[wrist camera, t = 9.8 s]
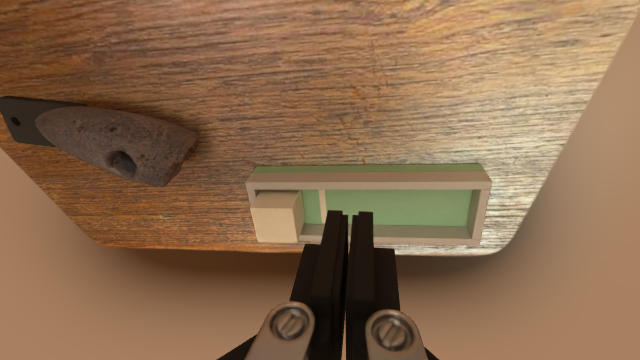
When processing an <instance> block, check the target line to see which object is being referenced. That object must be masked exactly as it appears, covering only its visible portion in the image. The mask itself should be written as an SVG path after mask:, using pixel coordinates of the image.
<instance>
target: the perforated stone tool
mask: <svg viewBox="0 0 640 360" xmlns="http://www.w3.org/2000/svg"><path fill="white" fill-rule="evenodd" d="M35 122H36V123H35V124H36V127H37V128H38V130H39V131H40V133H41V134H42V135H43V136H44V137H45V138H46V139H47V140H48V141H50V142H51V143H52V144H54V145H55V146H56V147H59V148H60V149H62V150H63V151H65V152H66V153H68V154H70V155H72V156H74V157H77V158H78V159H80V160H83V161H85V162H87V163H89V164H91V165H94V166H96V167H98V168H100V169H103V170H105V171H108V172H110V173H112V174H115V175H117V176H120V177H122V178H126V179H129V180H134V181H138V182H142V183H146V184H150V185H154V186H162V187H164V186H166V185H167V184H168V183H169V182H170V181H171V179H172V178H173V177H174V176H176V175H177V174H178V173H179V172H180V170H181V166H182V163H183V162H184V161H185V160H187V159H188V158H189V156H190V154H191V152H193V151H194V149H195V145H196V143H198V141H199V137H198V136H199V134H198V133H197V132H194V131H192V130H190V129H187V128H184V127H182V126H179V125H177V124H174V123H171V122H168V121H165V120H162V119H158V118H154V117H150V116H145V115H141V114H136V113H131V112H125V111H119V110H112V109H106V108H98V107H87V106H70V107H62V108H56V109H52V110H50V111H47V112H45V113H43V114H42V115H39V116H38V117H37V119H36V120H35Z"/></svg>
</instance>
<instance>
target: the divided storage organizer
mask: <svg viewBox="0 0 640 360" xmlns="http://www.w3.org/2000/svg"><path fill="white" fill-rule="evenodd" d="M245 184H246V189H247V193H248V197H249V202H250V206H252V204H253V202H254V201H255V199H256V197H257V196H258V194H259V192H260V191H261V190H301V191H302V199H303V207H304V214H305V220H304V224H303V227H302V230H301V233H300V237H299V240H298V241H320V242H321V240H322V235H323V231H324V226H325V221H326V216H327V212H328V210H341V211H343V214H344V215H348V242H350V239H351V227H352V216H353V215H358V212H359V211H366V212H373V239H374V243H393V244H430V245H466V246H479V245H480V239H481V234H482V229H483V224H484V220H485V215H486V210H487V205H488V200H489V195H490V189H491V186H492V181H491V179H490V178H489V176H488V175H487V173H486V172H485V170H484V169H483V167H482V166H481V164H412V165H331V166H257V167H256V168H255V169H254V171H253V172H252V174H251V175H250V176H249V178H248V179H247V181H246V182H245Z"/></svg>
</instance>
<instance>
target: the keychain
mask: <svg viewBox="0 0 640 360" xmlns="http://www.w3.org/2000/svg"><path fill="white" fill-rule="evenodd" d="M70 106H87V105H85V104H79V103H69V102H59V101H48V100H38V99H28V98H18V97H8V96H4V97H0V111H1V113H2V115H3V118H4V120H5V122H6V124H7V126H8V128H9V131H10V133H11V135H12V137H13V139H14V140H15V141H16V142H18V143H25V144H34V145H43V146H51V147H56V146H55V145H54V144H52V143H51V142H50V141H48V140H47V139H46V138H45V137H44V136H43V135H42V134H41V133H40V131H39V130H38V128H37V127H36V124H35V123H36V122H35V120H36V119H37V117H38V116H39V115H42V114H43V113H45V112H47V111H50V110H52V109H56V108H62V107H70ZM87 107H88V106H87ZM19 121H20V122H19Z"/></svg>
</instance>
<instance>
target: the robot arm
mask: <svg viewBox="0 0 640 360" xmlns="http://www.w3.org/2000/svg"><path fill="white" fill-rule="evenodd" d="M345 309H346V360H439V359H438V358H436V357H435V356H434V355H433V354H432V353H431V352H430V351H429V350H427V349H426V348H425V347H424V345H423V342H422V339H421V336H420V333H419V330H418V328H417V326H416V324H415V323H414V321H413V320H412V319H411V318H410V317H409V316H407V315H406V314H404V313H403V312H400V303H399V293H398V282H397V272H396V261H395V251H394V249H389V248H374V239H373V212H366V211H359V212H358V215H353V216H352V227H351V239H350V250H349V262H348V215H344V214H343V211H341V210H328V212H327V216H326V221H325V226H324V231H323V235H322V240H321V245H318V244H305V246H304V249H303V253H302V257H301V260H300V264H299V268H298V271H297V275H296V279H295V282H294V286H293V290H292V293H291V297H290V301H289V302H283V303H281V304H279V305H277V306H276V307H274V308H273V309H272V310H271V311H270V312H269V314H268V315H267V316H266V319H265V320H264V322H263V324H262V326H261V328H260V331H259V332H258V334H257V335H255V336H253V337H252V338H250V339H249V340H247V341H246V342H244V343H243V344H241V345H239V346H238V347H236V348H235V349H233V350H231V351H230V352H228V353H227V354H225V355H224V356H222V357H220V358H219V359H217V360H341V357H342V345H343V333H344V321H345Z"/></svg>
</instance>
